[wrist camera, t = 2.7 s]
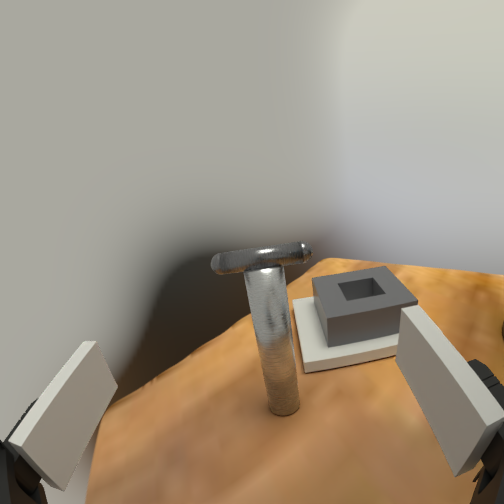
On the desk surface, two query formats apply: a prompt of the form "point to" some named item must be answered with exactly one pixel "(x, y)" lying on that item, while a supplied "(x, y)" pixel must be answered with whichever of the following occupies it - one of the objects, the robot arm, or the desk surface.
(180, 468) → the desk surface
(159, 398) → the desk surface
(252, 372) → the desk surface
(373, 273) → the chuck block
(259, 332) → the chuck key
